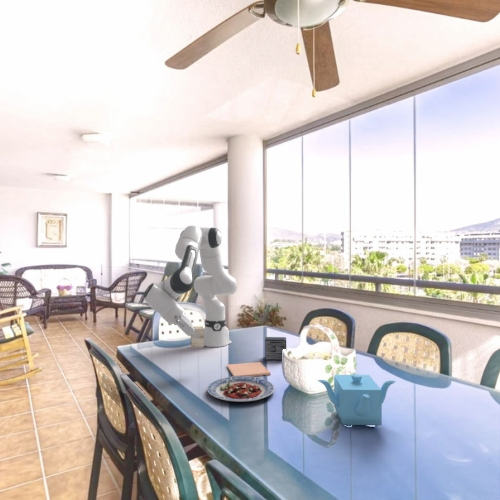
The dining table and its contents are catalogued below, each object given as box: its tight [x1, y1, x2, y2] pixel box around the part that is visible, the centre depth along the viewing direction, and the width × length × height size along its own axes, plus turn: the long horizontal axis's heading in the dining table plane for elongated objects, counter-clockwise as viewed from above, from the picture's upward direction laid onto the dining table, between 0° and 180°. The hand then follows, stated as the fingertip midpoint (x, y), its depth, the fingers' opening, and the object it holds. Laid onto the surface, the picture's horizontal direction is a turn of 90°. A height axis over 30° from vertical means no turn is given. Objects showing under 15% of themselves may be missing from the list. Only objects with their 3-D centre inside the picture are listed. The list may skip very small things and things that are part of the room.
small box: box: [264, 336, 287, 362], centre depth 194 cm, size 11×6×10 cm, turn 84°
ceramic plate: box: [207, 376, 276, 403], centre depth 150 cm, size 26×26×3 cm
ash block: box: [190, 325, 205, 348], centre depth 171 cm, size 5×5×8 cm
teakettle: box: [317, 373, 397, 426], centre depth 126 cm, size 19×19×15 cm
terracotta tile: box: [226, 361, 271, 377], centre depth 176 cm, size 16×16×1 cm
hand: (197, 335), depth 171 cm, fingers closed on ash block, 5 cm apart
